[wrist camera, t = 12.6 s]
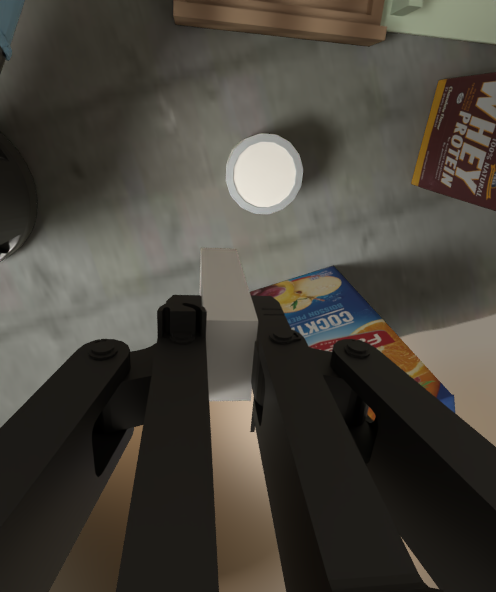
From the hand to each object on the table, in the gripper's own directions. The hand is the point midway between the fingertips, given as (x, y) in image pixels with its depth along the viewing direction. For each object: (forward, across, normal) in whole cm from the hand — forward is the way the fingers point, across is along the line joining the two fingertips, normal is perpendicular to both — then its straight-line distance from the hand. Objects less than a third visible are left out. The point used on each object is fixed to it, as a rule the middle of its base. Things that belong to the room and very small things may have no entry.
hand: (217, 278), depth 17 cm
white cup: (+27, -5, -2) cm, 27 cm away
